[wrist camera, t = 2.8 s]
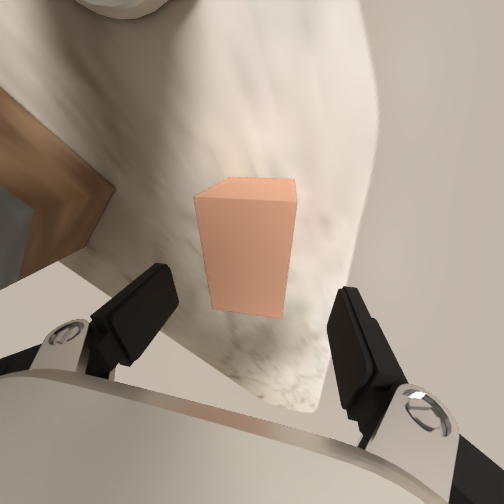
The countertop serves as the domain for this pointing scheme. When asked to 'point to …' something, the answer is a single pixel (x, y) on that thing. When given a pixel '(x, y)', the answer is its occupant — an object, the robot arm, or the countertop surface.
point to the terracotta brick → (247, 242)
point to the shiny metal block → (42, 195)
